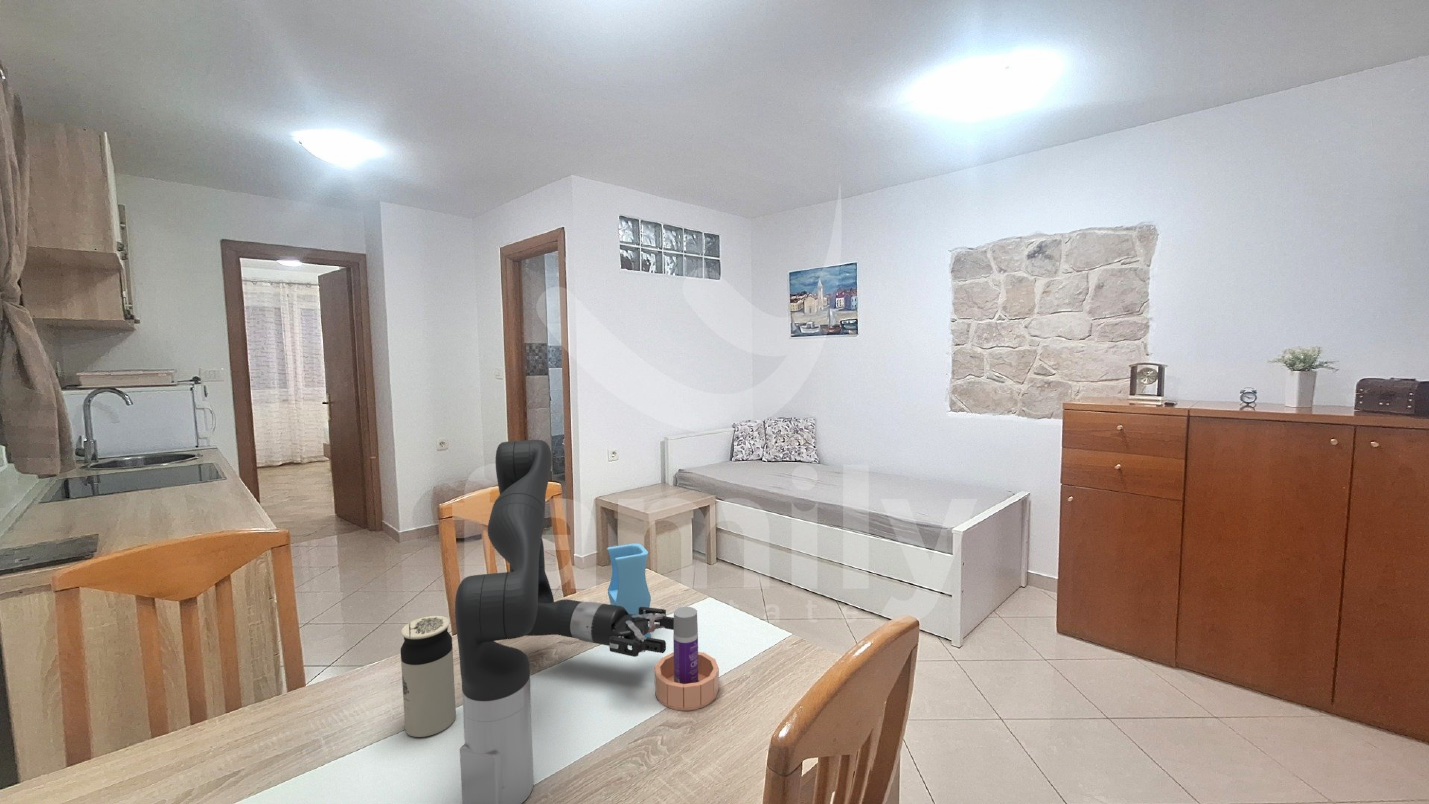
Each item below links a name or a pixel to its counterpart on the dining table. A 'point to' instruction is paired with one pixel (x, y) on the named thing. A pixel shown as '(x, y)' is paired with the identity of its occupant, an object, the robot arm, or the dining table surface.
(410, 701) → the travel mug
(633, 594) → the vase
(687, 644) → the container
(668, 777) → the dining table surface
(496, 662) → the robot arm
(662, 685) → the faceted terracotta pot
